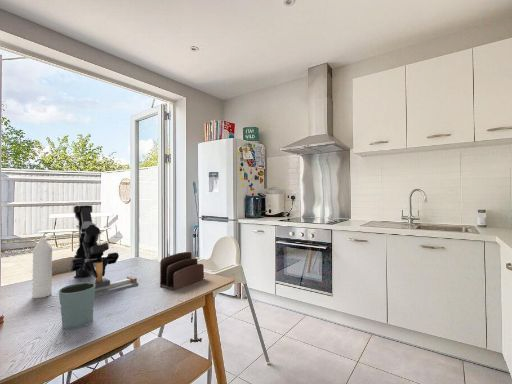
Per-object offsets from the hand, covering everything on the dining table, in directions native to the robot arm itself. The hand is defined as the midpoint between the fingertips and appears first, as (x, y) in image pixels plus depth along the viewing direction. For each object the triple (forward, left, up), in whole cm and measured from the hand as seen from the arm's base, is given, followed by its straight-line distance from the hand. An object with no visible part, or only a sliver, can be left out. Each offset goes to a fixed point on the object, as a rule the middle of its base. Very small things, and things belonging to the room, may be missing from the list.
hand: (100, 276), depth 115 cm
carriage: (-1, +1, -4) cm, 4 cm away
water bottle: (-24, 0, -7) cm, 25 cm away
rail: (+1, +3, -7) cm, 8 cm away
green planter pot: (+6, -29, -7) cm, 30 cm away
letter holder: (+34, +10, -7) cm, 37 cm away
